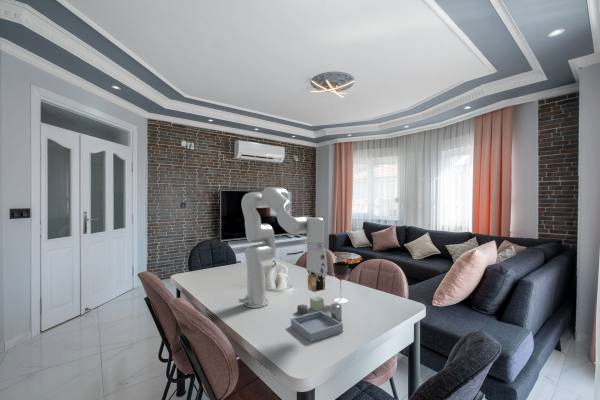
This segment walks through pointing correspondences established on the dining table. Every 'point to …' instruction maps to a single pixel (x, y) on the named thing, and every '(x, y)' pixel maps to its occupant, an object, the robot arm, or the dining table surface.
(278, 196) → the robot arm
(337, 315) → the metal cylinder
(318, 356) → the dining table surface
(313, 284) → the oak block
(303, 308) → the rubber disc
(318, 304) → the sage block
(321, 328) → the tray
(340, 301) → the wineglass
